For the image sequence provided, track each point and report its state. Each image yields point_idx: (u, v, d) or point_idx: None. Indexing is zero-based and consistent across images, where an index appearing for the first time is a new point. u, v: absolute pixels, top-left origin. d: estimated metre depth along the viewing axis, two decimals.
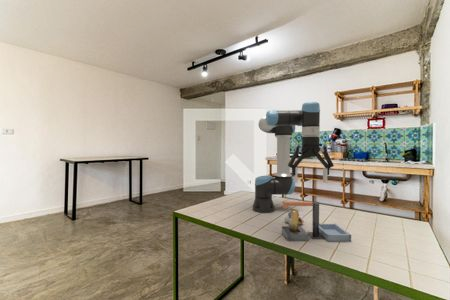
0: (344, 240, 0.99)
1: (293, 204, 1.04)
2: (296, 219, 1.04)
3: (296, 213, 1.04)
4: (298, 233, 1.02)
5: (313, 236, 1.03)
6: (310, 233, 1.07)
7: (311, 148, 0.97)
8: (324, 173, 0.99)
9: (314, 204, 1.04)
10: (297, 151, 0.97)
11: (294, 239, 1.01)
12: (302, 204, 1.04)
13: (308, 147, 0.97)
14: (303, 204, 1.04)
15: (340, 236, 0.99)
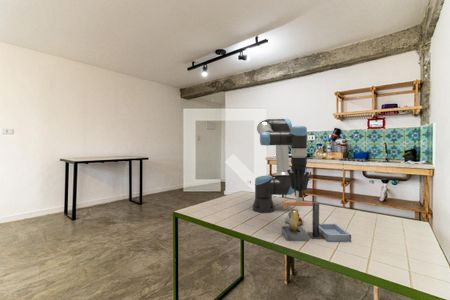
0: (344, 240, 0.99)
1: (293, 204, 1.04)
2: (296, 219, 1.04)
3: (296, 213, 1.04)
4: (298, 233, 1.02)
5: (313, 236, 1.03)
6: (310, 233, 1.07)
7: (297, 168, 1.07)
8: None
9: (314, 204, 1.04)
10: (289, 173, 1.11)
11: (294, 239, 1.01)
12: (302, 204, 1.04)
13: (293, 164, 1.09)
14: (303, 204, 1.04)
15: (340, 236, 0.99)
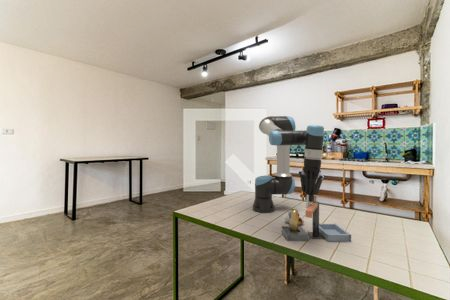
0: (344, 240, 0.99)
1: (313, 210, 0.95)
2: (296, 219, 1.04)
3: (296, 213, 1.04)
4: (298, 233, 1.02)
5: (313, 236, 1.03)
6: (310, 233, 1.07)
7: (310, 170, 0.99)
8: None
9: None
10: (300, 175, 1.04)
11: (294, 239, 1.01)
12: (315, 207, 0.99)
13: (306, 166, 1.01)
14: (315, 207, 0.99)
15: (340, 236, 0.99)
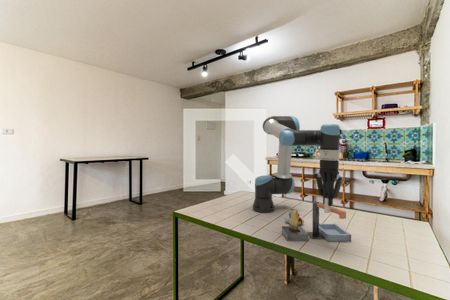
0: (344, 240, 0.99)
1: None
2: (296, 219, 1.04)
3: (296, 213, 1.04)
4: (298, 233, 1.02)
5: (313, 236, 1.03)
6: (310, 233, 1.07)
7: (327, 172, 0.93)
8: None
9: None
10: (316, 177, 0.98)
11: (294, 239, 1.01)
12: None
13: (322, 168, 0.95)
14: None
15: (340, 236, 0.99)
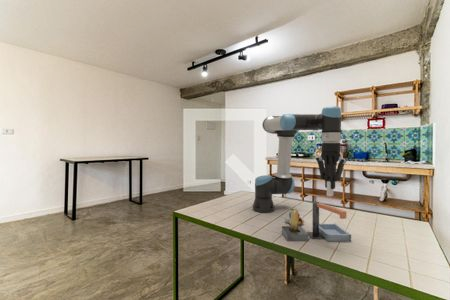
0: (344, 240, 0.99)
1: None
2: (296, 219, 1.04)
3: (296, 213, 1.04)
4: (298, 233, 1.02)
5: (313, 236, 1.03)
6: (310, 233, 1.07)
7: (329, 155, 0.93)
8: None
9: None
10: (318, 161, 0.97)
11: (294, 239, 1.01)
12: None
13: (324, 151, 0.95)
14: None
15: (340, 236, 0.99)
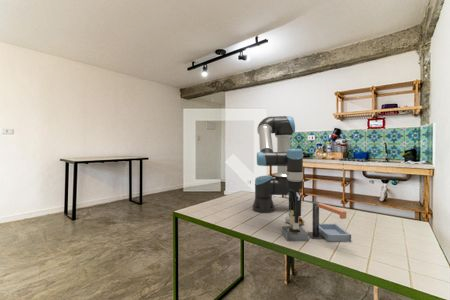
0: (344, 240, 0.99)
1: None
2: None
3: None
4: (298, 233, 1.02)
5: (313, 236, 1.03)
6: (310, 233, 1.07)
7: (292, 191, 1.05)
8: None
9: None
10: (288, 194, 1.10)
11: (294, 239, 1.01)
12: None
13: None
14: None
15: (340, 236, 0.99)
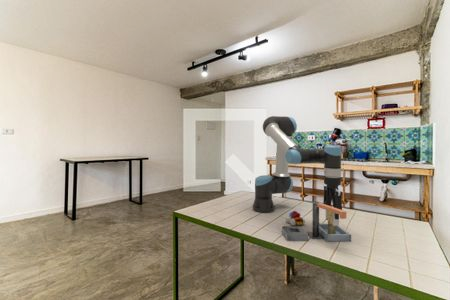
0: (344, 240, 0.99)
1: None
2: None
3: None
4: (298, 233, 1.02)
5: (313, 236, 1.03)
6: (310, 233, 1.07)
7: (330, 187, 1.06)
8: None
9: None
10: (324, 190, 1.12)
11: (294, 239, 1.01)
12: None
13: (328, 185, 1.07)
14: None
15: (340, 236, 0.99)
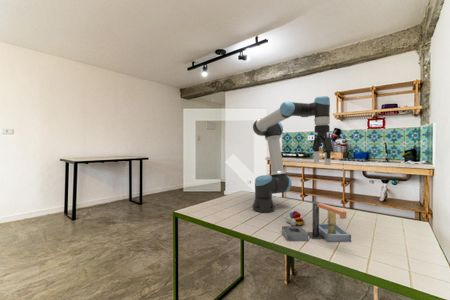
0: (344, 240, 0.99)
1: None
2: (334, 217, 1.05)
3: None
4: (298, 233, 1.02)
5: (313, 236, 1.03)
6: (310, 233, 1.07)
7: (319, 135, 1.17)
8: None
9: None
10: (314, 138, 1.23)
11: (294, 239, 1.01)
12: None
13: (318, 134, 1.18)
14: None
15: (340, 236, 0.99)
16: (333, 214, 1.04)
